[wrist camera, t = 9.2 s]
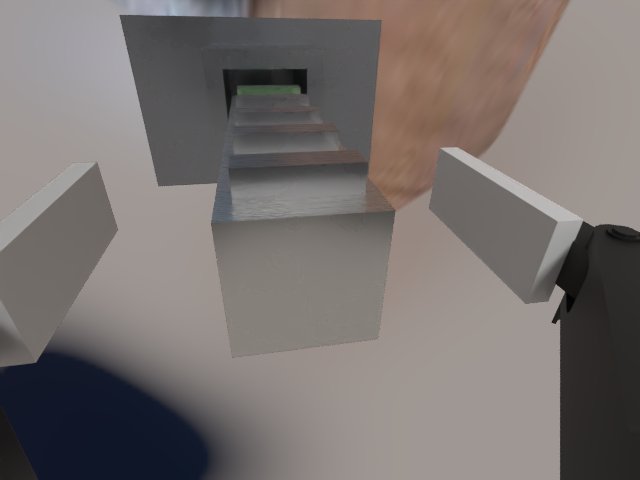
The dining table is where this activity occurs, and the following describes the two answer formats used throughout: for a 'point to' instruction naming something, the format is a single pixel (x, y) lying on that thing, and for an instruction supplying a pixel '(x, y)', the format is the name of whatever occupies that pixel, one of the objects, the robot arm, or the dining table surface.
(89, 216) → the robot arm
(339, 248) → the column
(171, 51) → the stand
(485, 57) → the dining table surface
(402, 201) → the dining table surface
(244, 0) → the dining table surface
